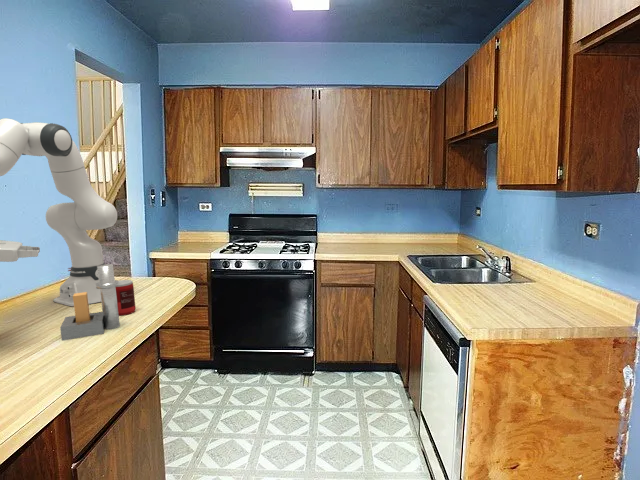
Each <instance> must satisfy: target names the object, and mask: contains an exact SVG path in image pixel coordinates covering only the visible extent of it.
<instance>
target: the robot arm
mask: <svg viewBox="0 0 640 480" xmlns="http://www.w3.org/2000/svg"><path fill="white" fill-rule="evenodd" d="M77 146H78V145H76V142H75V141H74V140H73V138H72V135H71V134H70V132H69V130H68V129H67V128H66V127H65V126H63V125H60V124H57V123H53V122H52V123H49V122H48V123H47V122H25V123H23V122H19V121H18V120H15V119H12V118H1V119H0V177H3V176H5V175H6V174H8V173H9V172H10V171H11V169H13V167H14V166H15V165H17V162H18V161H19V159H20V158H21V156H31V157H46V159H47V161H48V166H49V170H50V173H51V177H52V179H53V183H54V185H55V188H56V191H58V192H59V193H60V194H61V195H63V196H65V197H67V198H69V199H71V200H72V201H73V202H61V203H56V204H53V205H50V206H49V207H48V209H47V210H46V212H45V222H46V224H47V225H48V226H49V228H51V229H53V231H55V232H57V233H58V234H59V235H60V236H61V237H62V238H63V240H64V241H65V242H66V245H67V247H68V250H69V255H70V261H71V267H68V268H67V269H68V270H67V272H69V277H67V279H66V280H65V281H64V282H63V283H62V284H61V285H60V286H59V296H58V297H55V298H54V299H53V302H55V303H57V304H60V305H61V304H62V305H63V306H64V305H65V306H69V307H74V302H73V295H74V294H75V293H83V292H87V296H88V304H96V303H100V302H101V294H100V289H97V288H96V283H98V282H99V277H98V269H97V266H100V265H105V264H106V263H105V261H104V253H103V246H102V245H101V243H100V242H99V241H98V240H96V239H94V238H91V236H89V234H88V233H87V231H91V230H92V231H95V230H98V231H99V230H104V229H108V228H111V227H114V226H115V224H116V222H117V220H118V211H117V209H116V207H115V206H114V205H113V203H111V202H109V201H107V200H106V199H104V198H103V197H102V196H100V195H99V194H98V193H97V192H96V190H95V189H94V187H93V186H92V184H91V182H90V179H89V177H88V174H87V170H86V167H85V163H84V160H83V157H82V155H81V152H80V150H79V148H78V147H77ZM40 249H41V248H40V247H39V246H30V245H23V243H22V242H19V241H13V240H1V239H0V263H1V262H3V263H5V262H7V263H10V262H11V263H12V262H13V263H14V262H17V261H18V260H19V259H21V258H22V259H23V258H36V257H39V253H40V252H41V251H40ZM101 303H102V302H101Z"/></svg>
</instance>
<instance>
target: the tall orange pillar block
mask: <svg viewBox="0 0 640 480" xmlns="http://www.w3.org/2000/svg"><path fill="white" fill-rule="evenodd" d="M73 302H74V306H73V308H74V316H75V317H76V323H77V322H83V321H90V313H91V312H90V306H89V304H88V296H87V292H83V293H75V294H74V295H73Z"/></svg>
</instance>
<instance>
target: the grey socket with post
mask: <svg viewBox="0 0 640 480" xmlns="http://www.w3.org/2000/svg"><path fill="white" fill-rule="evenodd" d="M97 269H98V277H99V282H98V283H96V288H97V289H100V294H101V310H102V311H97V312H90V321H83V322H77V323H76V317H75V315H70V316H65V317H64V319H63V322H62V324H61V325H60V327H59V328H60V329H59V330H60V337H61V341H68V340H72V339H80V338H85V337H92V336H98V335H102V334H103V335H104V334H105V330H114V329H118V328H119V327H120V326H121V324H120V323H121V322H120V316H119V314H118V305H117V296H116V286H118V285H119V283H118V281H119V280H117V279H115V272H114V264H111V263H107V264H106V263H105V265H100V266H97Z"/></svg>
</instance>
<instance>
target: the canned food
mask: <svg viewBox="0 0 640 480" xmlns="http://www.w3.org/2000/svg"><path fill="white" fill-rule="evenodd" d="M118 283H119V285H118V286H116V296H117V305H118V314H119V317H120V316H127V315H131V314H133V313H135V312H136V310H137V309H136V300H135V289H134V282H133V280H130V279H119V280H118Z"/></svg>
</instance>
